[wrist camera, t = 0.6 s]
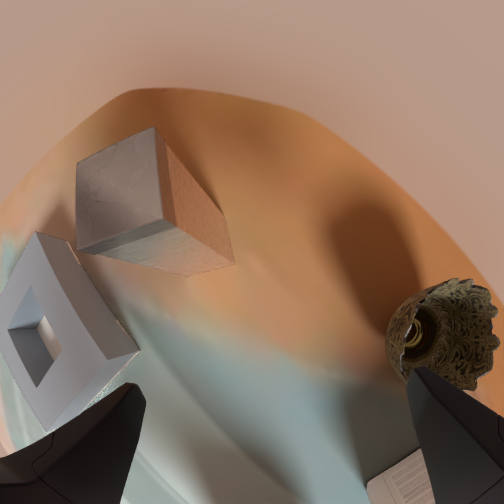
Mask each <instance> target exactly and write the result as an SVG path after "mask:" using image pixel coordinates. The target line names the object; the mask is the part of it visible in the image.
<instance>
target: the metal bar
mask: <svg viewBox="0 0 504 504" xmlns="http://www.w3.org/2000/svg"><path fill="white" fill-rule="evenodd" d="M75 215H76V243H77V250H78V251H82V252H85V253H89V254H93V255H96V254H99V255H103V256H107V257H110V258H114V259H118V260H122V261H126V262H130V263H134V264H138V265H142V266H146V267H150V268H154V269H158V270H162V271H166V272H171V273H175V274H179V275H184V276H188V277H189V276H193V275H196V274H200V273H204V272H208V271H212V270H216V269H220V268H224V267H228V266H231V265H235V260H234V256H233V251H232V247H231V243H230V238H229V234H228V230H227V225H226V221H225V217H224V215H223V214H222V213H221V212H220V210H219V209H218V208H217V207H216V205H215V204H214V203H213V202H212V200H211V199H210V198H209V197H208V195H207V194H206V193H205V192H204V190H203V189H202V188H201V187H200V185H199V184H198V183H197V182H196V180H195V179H194V178H193V177H192V175H191V174H190V173H189V172H188V170H187V169H186V168H185V167H184V165H183V164H182V163H181V162H180V160H179V159H178V158H177V157H176V155H175V154H174V153H173V152H172V150H171V149H170V148H169V147H168V145H167V144H166V140H165V139H164V138H163V137H162V135H161V134H160V133H159V131H158V130H157V129H156V128H155V126H153V127H151V128H148V129H146V130H143V131H141V132H139V133H136V134H134V135H132V136H130V137H128V138H125V139H123V140H121V141H119V142H117V143H115V144H113V145H111V146H109V147H107V148H105V149H103V150H101V151H99V152H97V153H95V154H93V155H91V156H89V157H87V158H86V159H84V160H82V161H80V162H78V163H77V171H76V199H75Z"/></svg>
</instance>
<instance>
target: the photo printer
mask: <svg viewBox="0 0 504 504" xmlns="http://www.w3.org/2000/svg"><path fill="white" fill-rule="evenodd" d="M366 490H367V494H368V497H369V500H370V503H371V504H435V500H434V495H433V491H432V487H431V483H430V479H429V475H428V472H427V468H426V464H425V461H424V457H423V454H422V451H421V448H420V449H418V450H417V451H415V452H414V453H412V454H411V455H409V456H408V457H407V458H405V459H404V460H402V461H400V462H399V463H397V464H396V465H394V466H393V467H391V468H389V469H388V470H386V471H384V472H383V473H381V474H379V475H378V476H376V477H375V478H373V479H372V480H370V481H369V482H368V483H367V489H366Z"/></svg>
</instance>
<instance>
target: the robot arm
mask: <svg viewBox="0 0 504 504" xmlns="http://www.w3.org/2000/svg"><path fill="white" fill-rule="evenodd" d="M406 391H407V396H408V400H409V404H410V409H411V414H412V418H413V423H414V428H415V431H416V435H417V438H418V441H419V444H420V447H421V451H422V454H423V457H424V461H425V464H426V468H427V472H428V475H429V479H430V483H431V487H432V491H433V495H434V500H435V504H504V418H503V417H502V416H500V415H498V414H497V413H496V412H494V411H493V410H491V409H489V408H488V407H486V406H485V405H483V404H482V403H480V402H479V401H477V400H476V399H474V398H473V397H471V396H470V395H468V394H467V393H465V392H464V391H462V390H461V389H459V388H458V387H456V386H455V385H453V384H452V383H450V382H449V381H447V380H445V379H444V378H442V377H441V376H439V375H438V374H436V373H435V372H433V371H432V370H430V369H429V368H427V367H426V366H423V365H422V366H418V367H414V368H413V369H412V370H411V372H410V376H409V379H408V382H407V386H406ZM145 408H146V400H145V397H144V395H143V394H142V392H141V390H140V388H139V386H138V385H137V384H135V383H125V384H123V385H122V386H120V387H119V388H117V389H116V390H114V391H113V392H112V393H110V394H109V395H107V396H106V397H104V398H103V399H101V400H100V401H98V402H97V403H96V404H94V405H93V406H91V407H90V408H88V409H87V410H85V411H84V412H82V413H81V414H79V415H78V416H76V417H75V418H73V419H72V420H70V421H69V422H67V423H65V424H64V425H62V426H61V427H59V428H58V429H56V430H55V431H53V432H52V433H50V434H48V435H47V436H45V437H43V438H42V439H40V440H38V441H37V442H35V443H33V444H31V445H29V446H27V447H25V448H23V449H21V450H19V451H17V452H15V453H12V454H10V455H8V456H6V457H2V458H0V504H120V501H121V497H122V494H123V490H124V487H125V483H126V480H127V477H128V473H129V470H130V467H131V463H132V460H133V457H134V454H135V451H136V447H137V444H138V441H139V437H140V432H141V427H142V422H143V417H144V412H145Z"/></svg>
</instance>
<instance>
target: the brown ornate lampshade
mask: <svg viewBox="0 0 504 504" xmlns="http://www.w3.org/2000/svg"><path fill="white" fill-rule="evenodd" d="M473 283H474V280H473V279H466V280H462V281H459V278H453V279H449V280H448V281H445V282H443V283H441V284H438V285H435V286H432V287H430V288H427V289H424V290H422V291H420V292H418V293H416V294H414V295H412V296H411V297H409V298H408V299H406V300H405V301H404V302H403V303H402V304H401V305H400V306H399V307H398V308H397V309H396V311H395V312H394V314H393V316H392V317H391V320H390V322H389V325H388V328H387V331H386V339H385V346H386V353H387V357H388V360H389V362H390V364H391V366H392V368H393V370H394V371H395V373H396V374H397V375H398V377H399V378H400V379H401V380H402V382H403V383H404V384H405V385H406V386H407V382H408V379H409V376H410V372H411V370H412V369H413V368H414V367H418V366H422V365H423V366H426V367H427V368H429V369H430V370H432V371H433V372H435V373H436V374H438V375H439V376H441V377H442V378H444V379H445V380H447V381H449V382H450V383H452V384H453V385H455V386H456V387H458V388H459V389H461V390H462V391H463V390H470V391H475V390H476V388H477V379H478V378H479V377H482V376H484V375H486V374H487V373H489V372H490V371H491V370H492V367H493V351H495V350H497V348H498V347H499V345H500V340H499V338H498V337H497V336H496V335H494V334H493V333H492V328H493V326H494V325H493V324H492V321H491V318H493V317H495V316H496V317H497V315H498V309H497V308H496V307H495V306H494V305H492V304H491V294H490V292H489V290H488V289H486V288H484V287H481V286H477V285H474V284H473ZM412 323H413V324H414V325H415V328H416V332H415V335H414V337H413V338H412V339H411V340H410V341H407V342H406V338H407V335H408V333H409V331H410V329H411V326H412ZM492 334H493V335H492ZM494 336H495V337H494ZM475 380H476V382H475Z"/></svg>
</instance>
